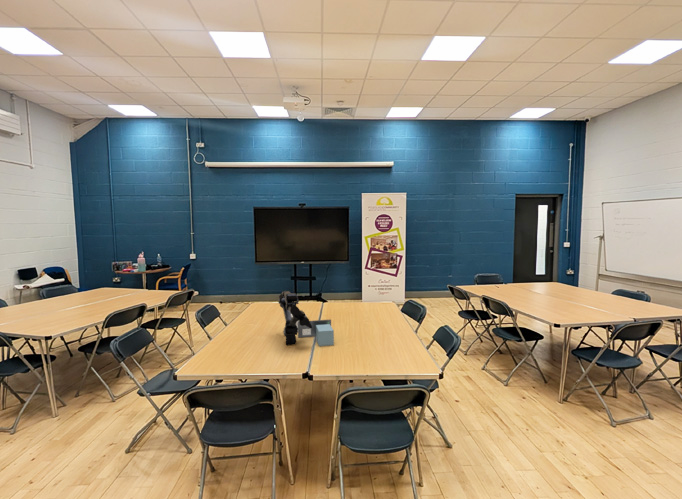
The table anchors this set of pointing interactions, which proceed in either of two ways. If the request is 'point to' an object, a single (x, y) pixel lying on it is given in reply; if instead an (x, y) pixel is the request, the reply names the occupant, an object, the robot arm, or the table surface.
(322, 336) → the pale blue box
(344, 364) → the table surface
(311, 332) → the dark grey case
